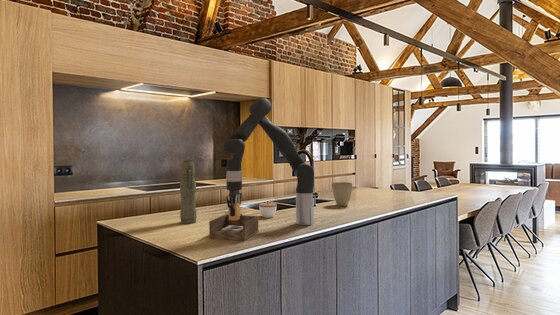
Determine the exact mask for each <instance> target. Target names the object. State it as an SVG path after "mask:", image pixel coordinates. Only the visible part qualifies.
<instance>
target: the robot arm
mask: <svg viewBox="0 0 560 315" xmlns="http://www.w3.org/2000/svg"><path fill="white" fill-rule="evenodd" d="M248 111H249V116H248V117H246V118H245V119H244V121H243V122H242V123H241V124H240V125H239V126H238V128H237V129H236V130H235V132H233V133H232V134H231V135H229V136H227V138H225V140H224V141H223V144H222V148H223V151H224V152H225V153H226V154H233V156H232V157H231V158H228V159H227V160H226V175H225V176H226V177H225V178H226V179H225V180H226V181H225V182H226V185H225V186H226V188H225V189H226V191H229V192H228V195H227V196H226V198H225V200H226V204H227V208H228V209H229V208H230V216H235V204H236V202H237V203H239V202H240V206H241V205H242V196H243V193H242V192H240V191H242V189H243V172H242V162H243V157H244V153H245V151H246V150H245V149H246V144H245V142H246V141H247V140H249V138H250V137H251V135H252V133H253V132H254V131H255V129H256V128H257V127H258V125H259V126H260V127H261V128H262V130H263V131H264V132H265V134H266V135H267V136H268V138H269V139H270V141H271V142H272V144H274V146H275V148H276V149H277V151H278V152H279V153H280V155H282V157H283V158H284V159H285V160H286V161H287V162H288V164H289V166H290V168H291V170H292V171H293V173H294V175H295V177H296V178H297V181H296V182H297V185H296V188H295V222H296V223H295V224H296V225H299V226H312V225H313V224H314V222H315V220H314V219H315V217H314V216H315V214H314V213H315V212H314V209H315V208H314V207H315V206H314V196H313V195H314V194H313V192H314V187H315V171H314V168H313V166H312V165H310V164H308V163H306V162H305V160H304V159H303V158H302V157H301V156H300V155H299V153H298V151H297V149H296V146H295V144H294V142H293V140H292V138H291V137H290V136H289V134H288V133H287V132H286V130H285V129H283V128H282V127H280V126H278V125H277V124H274V123H273V122H272V121H271V120H270V119H269V118H268V117H267V115H269V114H270V112H271V111H272V103H271V102H270V100H269V99H268V98H266V97H261V98H258V99H256V100H255V101H253V102H252V103H251V104H250V105H249V108H248ZM229 203H230V205H229Z"/></svg>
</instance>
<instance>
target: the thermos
mask: <svg viewBox="0 0 560 315" xmlns="http://www.w3.org/2000/svg"><path fill="white" fill-rule="evenodd" d="M195 169H196V168H195V163H194V161H193V160H183V161H181V165H180V175H181V176H180V180H179V192H180V212H179V214H180V216H179V217H180V224H181V225H192V224H196V223H197V218H198V217H197V209H196V193H197V182H196V178H195V174H196V172H195Z"/></svg>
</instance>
